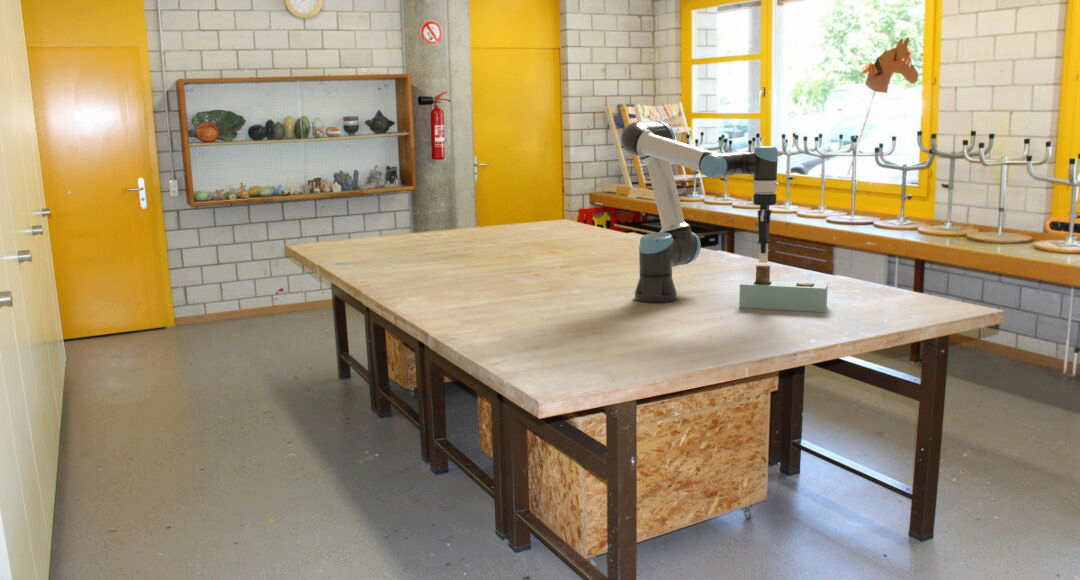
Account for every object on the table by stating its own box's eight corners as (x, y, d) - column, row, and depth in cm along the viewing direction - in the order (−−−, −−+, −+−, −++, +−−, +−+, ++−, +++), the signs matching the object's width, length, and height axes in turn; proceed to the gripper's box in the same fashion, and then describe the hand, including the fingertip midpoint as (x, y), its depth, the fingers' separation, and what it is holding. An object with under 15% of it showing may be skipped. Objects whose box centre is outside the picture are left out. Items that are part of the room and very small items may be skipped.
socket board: (739, 307, 306) (739, 284, 304) (743, 301, 314) (743, 279, 312) (824, 312, 296) (825, 288, 294) (826, 306, 304) (827, 283, 302)
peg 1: (754, 289, 305) (755, 266, 303) (756, 287, 309) (757, 264, 307) (768, 290, 303) (769, 267, 301) (770, 287, 307) (770, 264, 306)
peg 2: (796, 308, 301) (797, 285, 299) (797, 305, 305) (798, 282, 303) (810, 309, 299) (811, 285, 298) (811, 306, 303) (812, 283, 302)
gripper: (774, 194, 292) (772, 265, 297) (778, 191, 304) (776, 259, 309) (750, 194, 295) (749, 265, 300) (756, 190, 307) (754, 258, 311)
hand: (763, 262), depth 304 cm, fingers closed
